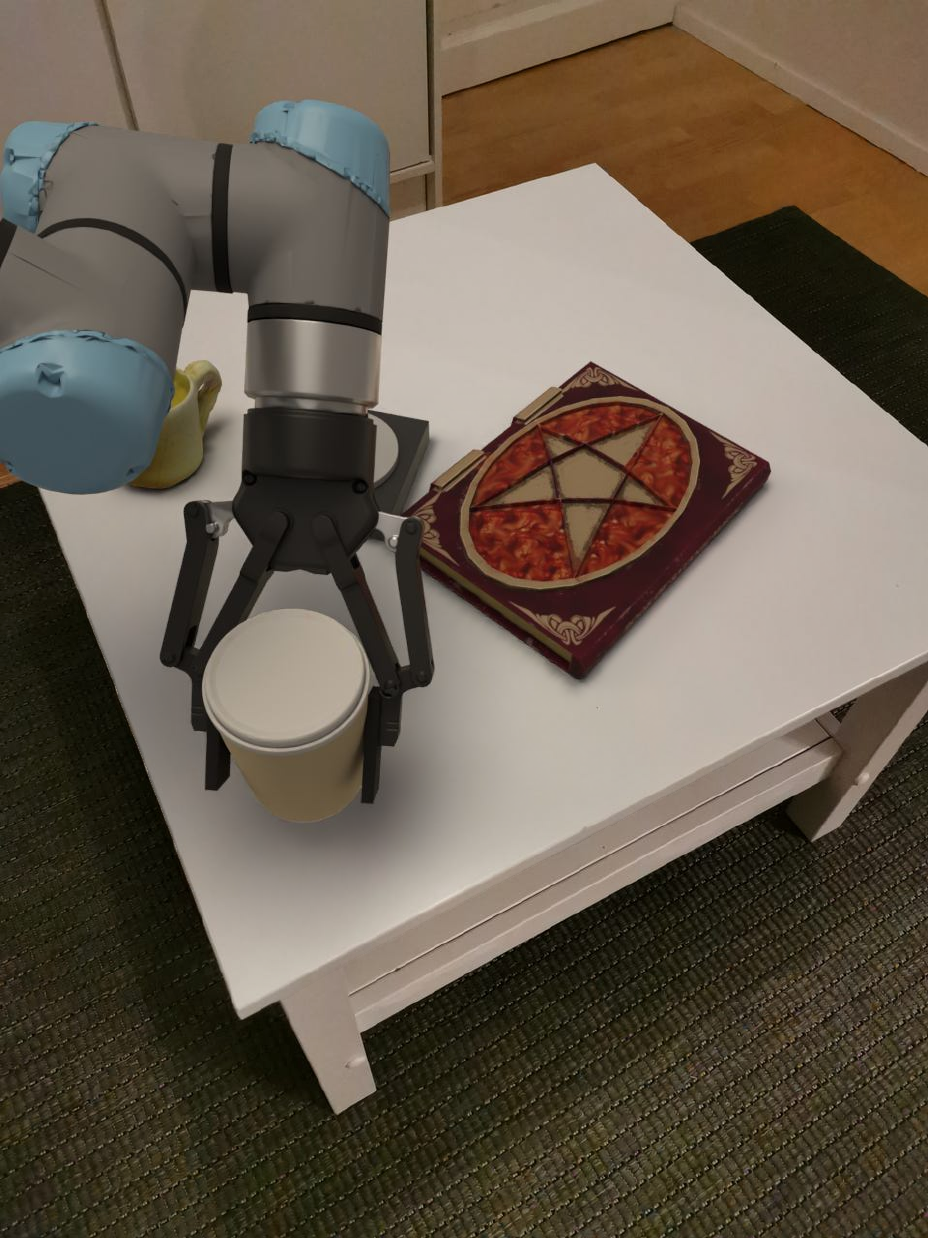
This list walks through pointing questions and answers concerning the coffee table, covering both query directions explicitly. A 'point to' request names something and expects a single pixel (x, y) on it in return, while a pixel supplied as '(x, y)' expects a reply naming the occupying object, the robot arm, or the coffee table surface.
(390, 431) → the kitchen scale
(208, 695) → the coffee cup
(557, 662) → the book
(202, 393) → the mug
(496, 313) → the coffee table surface
